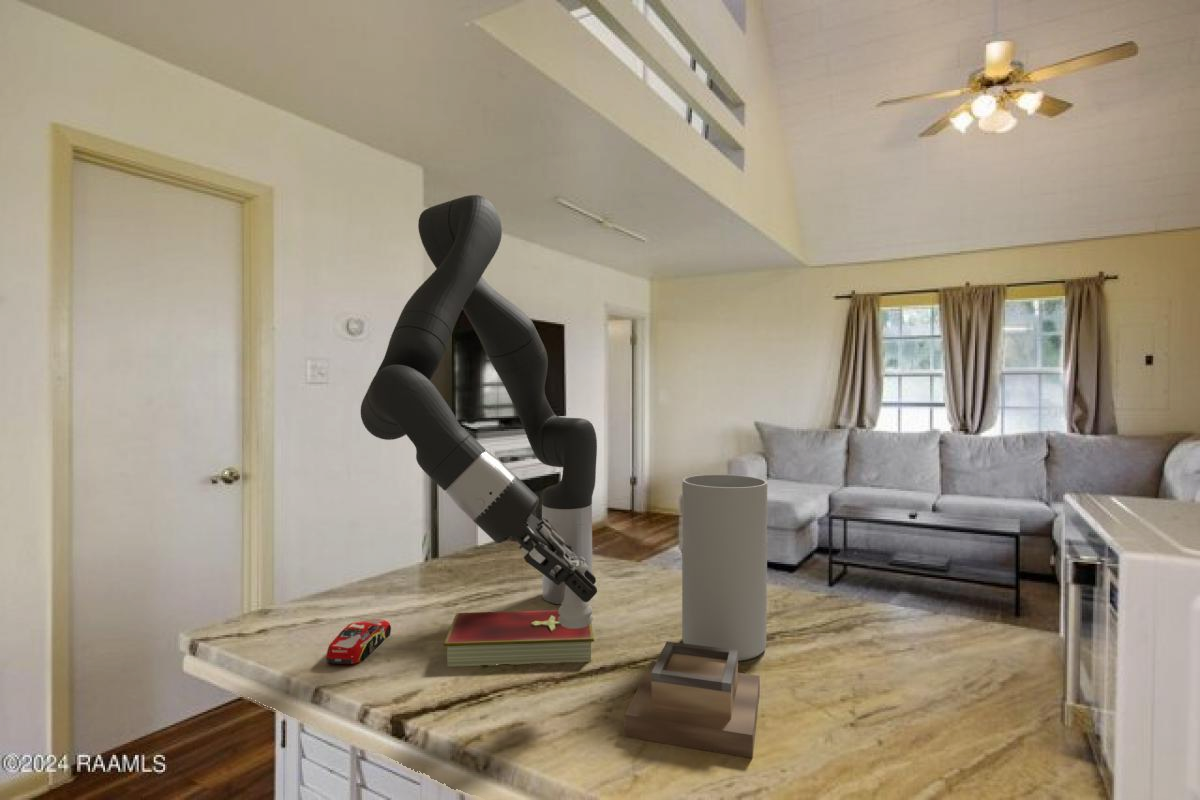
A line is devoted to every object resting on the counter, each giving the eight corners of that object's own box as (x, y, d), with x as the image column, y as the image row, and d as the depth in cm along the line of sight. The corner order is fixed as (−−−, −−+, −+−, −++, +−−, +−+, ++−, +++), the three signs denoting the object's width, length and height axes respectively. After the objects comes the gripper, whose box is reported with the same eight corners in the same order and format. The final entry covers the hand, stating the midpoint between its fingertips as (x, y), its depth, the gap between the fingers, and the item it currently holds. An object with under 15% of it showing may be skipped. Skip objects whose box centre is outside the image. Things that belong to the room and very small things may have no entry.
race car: (364, 631, 101) (364, 607, 101) (396, 633, 100) (396, 608, 100) (318, 668, 88) (318, 640, 88) (355, 670, 87) (355, 642, 87)
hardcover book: (456, 636, 99) (456, 610, 99) (589, 632, 101) (589, 606, 101) (443, 671, 87) (443, 641, 87) (593, 666, 89) (593, 636, 89)
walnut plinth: (651, 679, 84) (651, 631, 84) (759, 694, 80) (759, 644, 79) (624, 736, 70) (624, 679, 70) (752, 758, 66) (752, 697, 66)
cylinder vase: (772, 636, 98) (773, 477, 97) (757, 670, 86) (758, 490, 86) (695, 623, 103) (695, 472, 102) (671, 653, 92) (671, 484, 91)
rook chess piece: (588, 631, 76) (588, 566, 75) (553, 628, 77) (552, 564, 76) (596, 616, 80) (596, 555, 80) (562, 614, 81) (562, 553, 81)
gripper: (508, 484, 70) (617, 589, 71) (518, 465, 84) (609, 553, 85) (461, 532, 70) (570, 635, 71) (479, 505, 84) (570, 592, 85)
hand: (591, 590), depth 78 cm, fingers closed on rook chess piece, 3 cm apart
